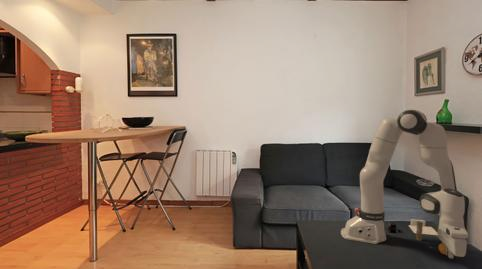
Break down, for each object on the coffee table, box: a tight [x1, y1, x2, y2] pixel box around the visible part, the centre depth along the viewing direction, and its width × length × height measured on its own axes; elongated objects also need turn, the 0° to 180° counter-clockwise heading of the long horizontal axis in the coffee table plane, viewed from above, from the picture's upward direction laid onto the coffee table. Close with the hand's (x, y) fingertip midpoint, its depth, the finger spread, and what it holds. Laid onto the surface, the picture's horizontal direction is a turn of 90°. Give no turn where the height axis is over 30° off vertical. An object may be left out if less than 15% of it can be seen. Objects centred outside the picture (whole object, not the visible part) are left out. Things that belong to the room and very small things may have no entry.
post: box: [415, 222, 423, 241], centre depth 152 cm, size 3×3×9 cm
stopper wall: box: [410, 218, 426, 226], centre depth 172 cm, size 7×2×3 cm, turn 76°
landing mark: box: [407, 224, 438, 236], centre depth 165 cm, size 12×12×1 cm
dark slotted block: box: [385, 221, 399, 234], centre depth 165 cm, size 12×7×5 cm, turn 167°
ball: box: [438, 242, 447, 256], centre depth 136 cm, size 6×6×6 cm
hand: (449, 256), depth 131 cm, fingers closed
